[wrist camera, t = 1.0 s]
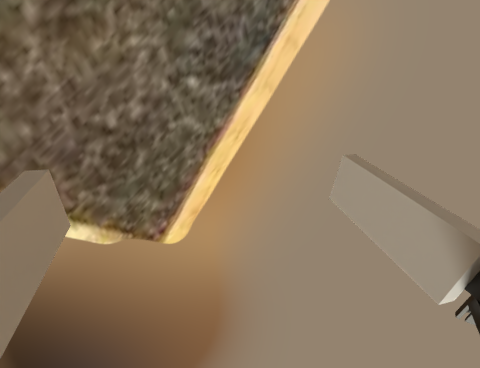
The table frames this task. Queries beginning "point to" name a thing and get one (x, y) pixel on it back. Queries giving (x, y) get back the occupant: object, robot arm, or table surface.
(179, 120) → the table surface
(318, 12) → the table surface
